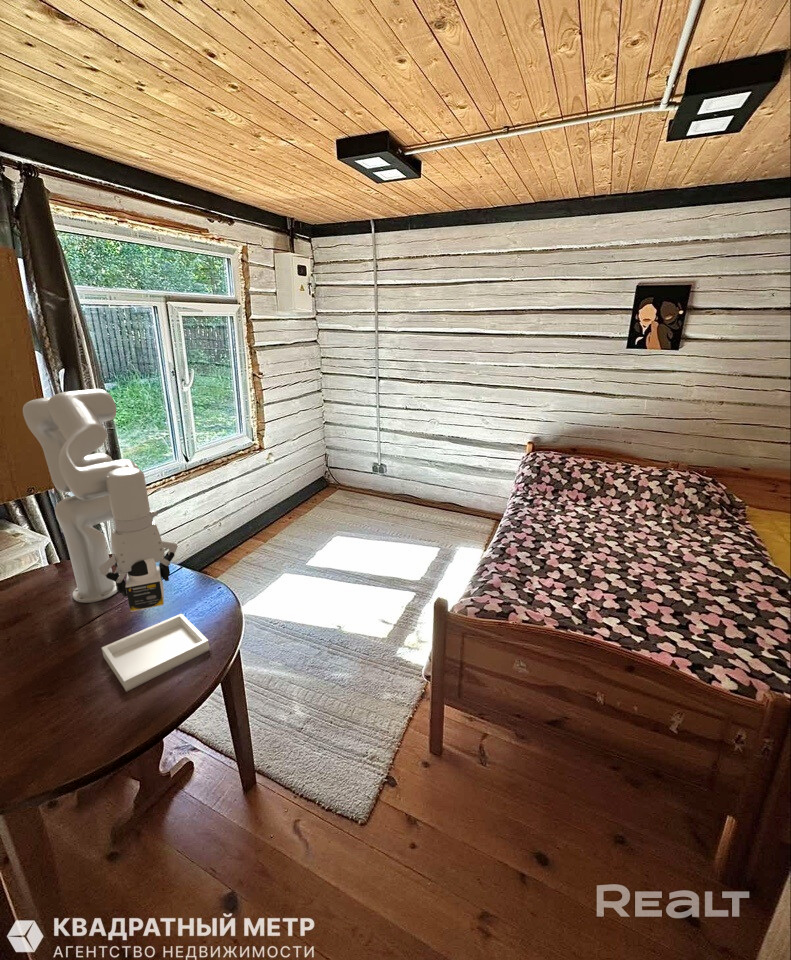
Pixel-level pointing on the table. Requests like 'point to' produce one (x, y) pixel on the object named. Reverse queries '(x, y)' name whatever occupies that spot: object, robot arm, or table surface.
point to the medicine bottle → (144, 585)
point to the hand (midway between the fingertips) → (145, 586)
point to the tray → (154, 651)
